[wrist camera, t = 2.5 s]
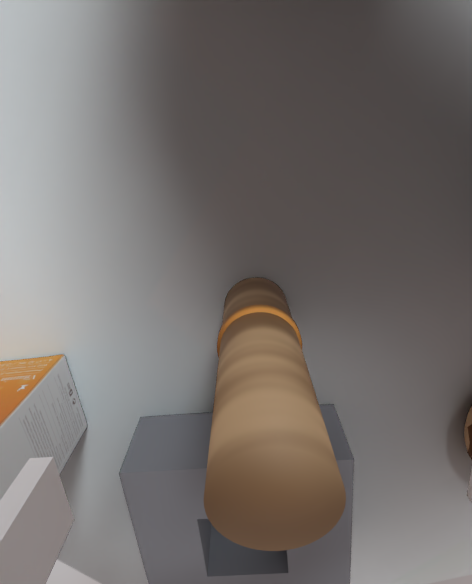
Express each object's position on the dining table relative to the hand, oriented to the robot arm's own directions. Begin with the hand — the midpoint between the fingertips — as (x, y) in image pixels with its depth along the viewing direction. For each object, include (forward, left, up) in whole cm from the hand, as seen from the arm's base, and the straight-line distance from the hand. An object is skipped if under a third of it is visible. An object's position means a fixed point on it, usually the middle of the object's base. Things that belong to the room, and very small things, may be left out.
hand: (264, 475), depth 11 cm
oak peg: (0, 0, -13) cm, 13 cm away
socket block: (+15, -2, -13) cm, 20 cm away
